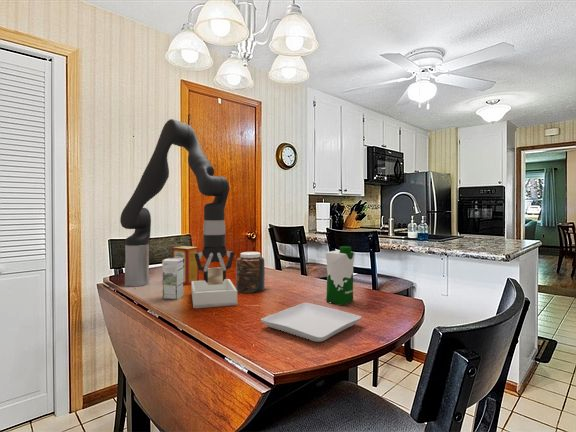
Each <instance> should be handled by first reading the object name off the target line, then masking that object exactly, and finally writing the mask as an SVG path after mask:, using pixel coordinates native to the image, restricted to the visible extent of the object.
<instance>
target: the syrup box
mask: <svg viewBox="0 0 576 432" xmlns="http://www.w3.org/2000/svg"><path fill="white" fill-rule="evenodd" d="M161 263H162V265H161V267H162V299H163V300H179V299H180V298H182V297H183V296H184V285H183V258H173V257H167V258H165V259H163V260H162V262H161Z"/></svg>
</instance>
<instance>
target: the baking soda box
mask: <svg viewBox="0 0 576 432" xmlns="http://www.w3.org/2000/svg"><path fill="white" fill-rule="evenodd" d="M199 250H200V249H199V246H198V247H197V246H192V245H191V246H188V245H187V246H186V245H181V246H175V247H172V258H183V286H190V285H191V281H200V279H199V277H200V276H199V275H200V272H199V271H200V270H199V269H198V266H197V262H196V258H195V253H199Z"/></svg>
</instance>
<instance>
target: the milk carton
mask: <svg viewBox="0 0 576 432" xmlns="http://www.w3.org/2000/svg"><path fill="white" fill-rule="evenodd" d="M355 255H356V252H355V251H352V246H349V245H348V246H347V245H342V246H339V250H338V249H337V250H331V251H326V252H325V257H326V299H325V301H327V302H326V303H328V302H331V303H330V304H333V303H335V304H334V305H337V304H340V305H339V306H342V305H344V306H346V305H348V304H347V303H349V304H350V302H351V303H353V302H354V263H355V262H354V261H355ZM352 301H353V302H352ZM345 304H346V305H345Z"/></svg>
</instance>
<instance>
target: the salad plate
mask: <svg viewBox="0 0 576 432" xmlns="http://www.w3.org/2000/svg"><path fill="white" fill-rule="evenodd" d="M361 319H362V316H361V315H357V314H354V313H351V312H346V311H343V310H339V309H336V308H331V307H327V306H323V305H319V304H315V303H310V302H302V303H300V304H297V305H294V306H291V307H288V308H286V309H283V310H280V311H278V312H275V313H272V314H270V315H267V316H264V317H261V319H260V321H261V322H262V323H263V324H264V325H266V326H267V327H270V328H272V329H275V330H278V331H280V330H281V332H283V331H284V333H286V332H287V334H289V333H290V335H292V334H293V336H295V335H296V337H299V336H300V337H299V338H302V337H303V338H302V339H305V338H306V340H308V339H309V340H308V341H312V342H314V343H315V342H316V343H320V342H324V341H326V340H328V339H329V338H331V337H333V336H335V335H337V334H339V333H340V332H343V331H344V330H346V329H348V328H350V327H353V326H354V325H356V324H357V323H359V321H360V320H361Z"/></svg>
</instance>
